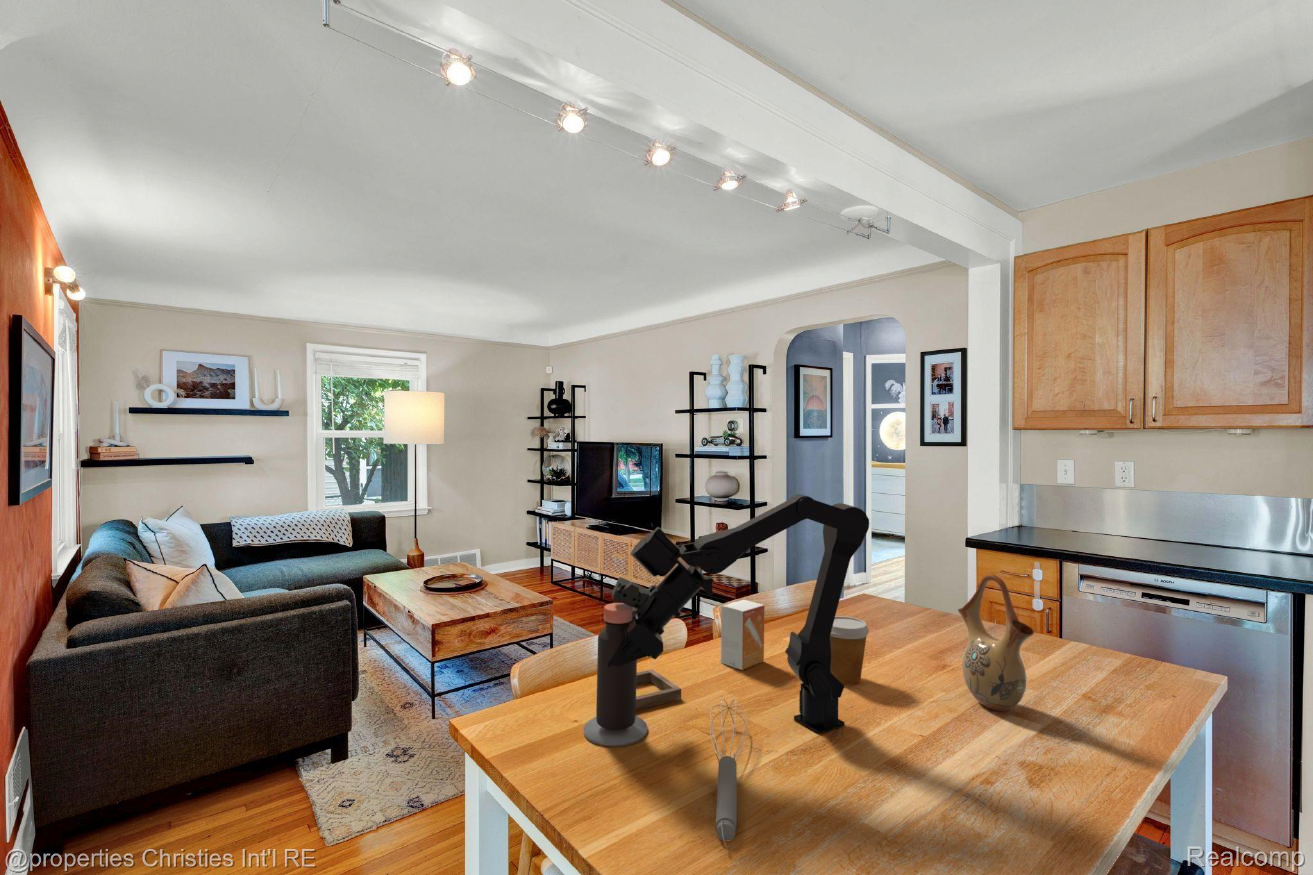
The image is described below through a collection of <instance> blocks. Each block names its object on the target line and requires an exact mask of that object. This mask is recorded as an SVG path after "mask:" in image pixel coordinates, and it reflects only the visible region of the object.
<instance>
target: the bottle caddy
mask: <svg viewBox="0 0 1313 875" xmlns="http://www.w3.org/2000/svg"><path fill="white" fill-rule="evenodd" d="M647 683H651V684H652V685H654V686H655V687H657V688H658V689H660V690H658V691H654V692H650V693H646V694H640V695H636V711H639V710H643V709H648V708H651V707H654V706H659V705H663V704H667V703H668V704H669V703H671V702H676V701H680V700H682V688H680V687H679V686H678V685H676V684H675V683H673V682H672V681H670V680H669V679H667V677H665V676H663V675H662V674H660V673H659V672H657V671H656V670H654V669H653V668H652V669H648V670H643V671H639V672H638V671H637V675H636V686H638V685H642V684H647Z"/></svg>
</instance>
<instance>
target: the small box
mask: <svg viewBox="0 0 1313 875" xmlns="http://www.w3.org/2000/svg"><path fill="white" fill-rule="evenodd" d="M765 607H766V606H765V604H762V603H758V602H754V601H751V600H747V599H741V600H737V601H733V602H729V603H728V604H724V605H721V611H720V612H721V619H720V620H721V626H720V627H721V628H720V630H721V631H720V640H721V641H720V647H721V648H720V663H721V664H723V665H726V666H729V667H732V668H734V669H737V670H741V671H744V670H745V669H748V668H750V667H753V666H756V665H758V664H760V663H763V662H765Z"/></svg>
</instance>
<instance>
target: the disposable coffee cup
mask: <svg viewBox="0 0 1313 875" xmlns="http://www.w3.org/2000/svg"><path fill="white" fill-rule="evenodd" d="M869 633H870V630H869V628H868V626H867V622H866V621H864V620H862V619H859V618H856V617H851V616H845V615H844V616H842V615H841V616H837V615H836V616H835V619H834V623H833V627H832V631H831V635H830V640H831V650H832V663H831V673H832V674H833V675H834V676H835V677H836V678H837V679H838V680H839V681H840V682H841V683H842V684H843V685H847V686H849V685H851V686H853V685H858V684H859V683H860V682H861V678H862V672H863V666H864V665H863V664H864V657H865V650H866V642H867V637H868V634H869Z"/></svg>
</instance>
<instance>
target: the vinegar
mask: <svg viewBox="0 0 1313 875" xmlns="http://www.w3.org/2000/svg"><path fill="white" fill-rule="evenodd" d="M632 610H633V607H631V606H629V605H626V604H624V603H622V602H620V603H619V602H612V603H608V604H606V605H604V606H603V622H604V624H605V627H603V629H602V630H601V631H600V632H599V633H598V635H597V662H596V663H597V664H596V665H597V669H596V671H597V672H596V706H595V707H596V708H595V710H596V711H595V713H596V714H595V715H596V716H595V717H596V720H597V724H598V725H600V726H601V727H602V728H605V729H608V730H623V729H627V728H629V727H631V726H632V725H633V724H634V723H635V719H636V716H637V714H636V712H637V710H636V696H637V685H636V675H637V673H638V671H637V670H638V668H637V667H638V666H637V665H638V660H635V661H632V662H629V663H627V664H624V665H622V666H619V667H618V666H615V665H610V667H608V666H607V664H608V663H609V661H610V660H611V659H612V657H613V656H614V655H615V653H616V652H617V650H618V649H619V647H620V646H621V644H622V642H623V641H624V639H625V626H626V627H627V628H628V626H629V625H630V623H631V622H632Z"/></svg>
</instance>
